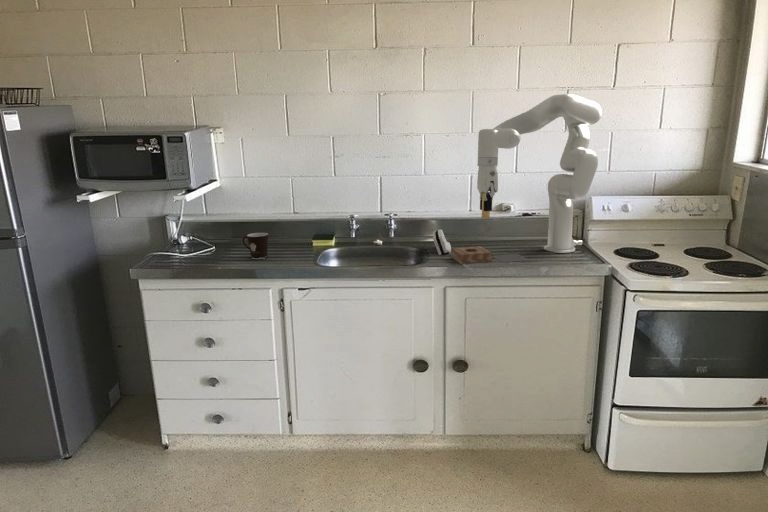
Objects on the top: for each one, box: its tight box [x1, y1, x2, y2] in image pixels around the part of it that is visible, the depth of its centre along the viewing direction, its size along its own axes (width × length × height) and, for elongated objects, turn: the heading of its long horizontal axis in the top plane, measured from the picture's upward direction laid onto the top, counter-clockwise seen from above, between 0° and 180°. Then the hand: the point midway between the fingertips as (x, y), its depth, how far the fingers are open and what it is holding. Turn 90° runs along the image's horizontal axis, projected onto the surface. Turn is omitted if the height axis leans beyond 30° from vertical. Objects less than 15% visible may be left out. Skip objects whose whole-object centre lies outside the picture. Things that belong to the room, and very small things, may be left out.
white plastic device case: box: [432, 229, 452, 256], centre depth 241 cm, size 17×5×10 cm, turn 173°
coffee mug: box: [242, 232, 269, 258], centre depth 236 cm, size 12×9×10 cm
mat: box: [492, 253, 529, 263], centre depth 224 cm, size 11×11×1 cm
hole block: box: [451, 246, 493, 266], centre depth 223 cm, size 12×12×4 cm
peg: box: [481, 192, 491, 220], centre depth 219 cm, size 3×3×10 cm
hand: (485, 209), depth 219 cm, fingers closed on peg, 3 cm apart
